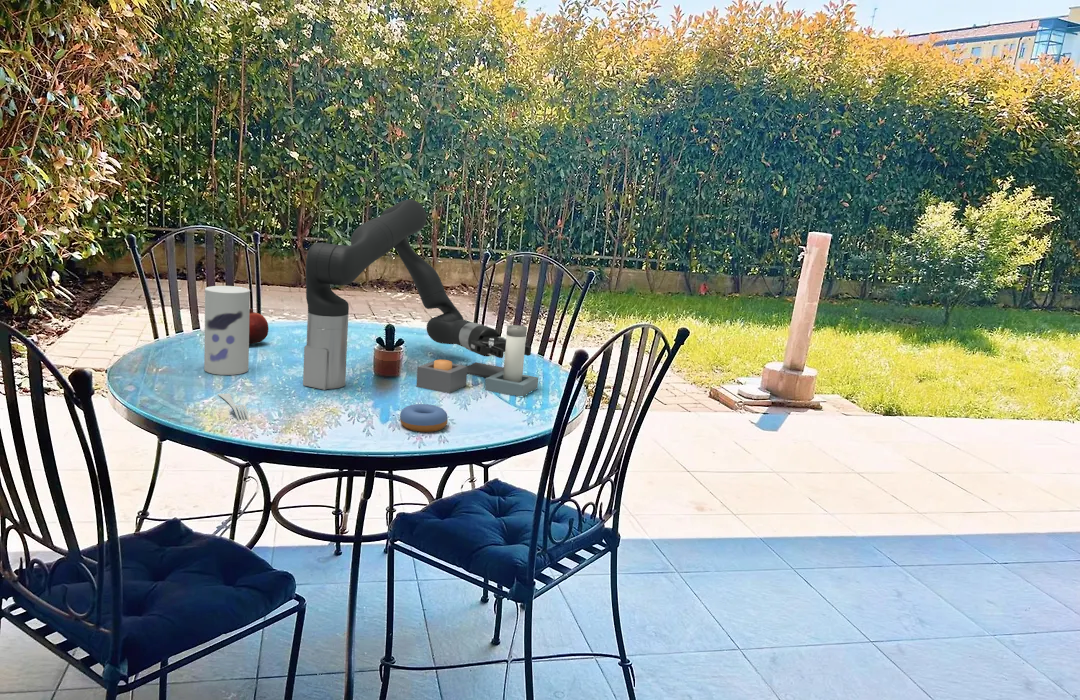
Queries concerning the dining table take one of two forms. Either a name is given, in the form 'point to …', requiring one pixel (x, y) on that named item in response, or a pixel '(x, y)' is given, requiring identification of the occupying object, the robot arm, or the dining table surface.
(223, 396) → the fork
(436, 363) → the plunger
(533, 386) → the housing
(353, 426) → the dining table surface
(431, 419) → the doughnut
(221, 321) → the container
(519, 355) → the cylinder
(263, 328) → the fruit
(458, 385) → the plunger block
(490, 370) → the mat
